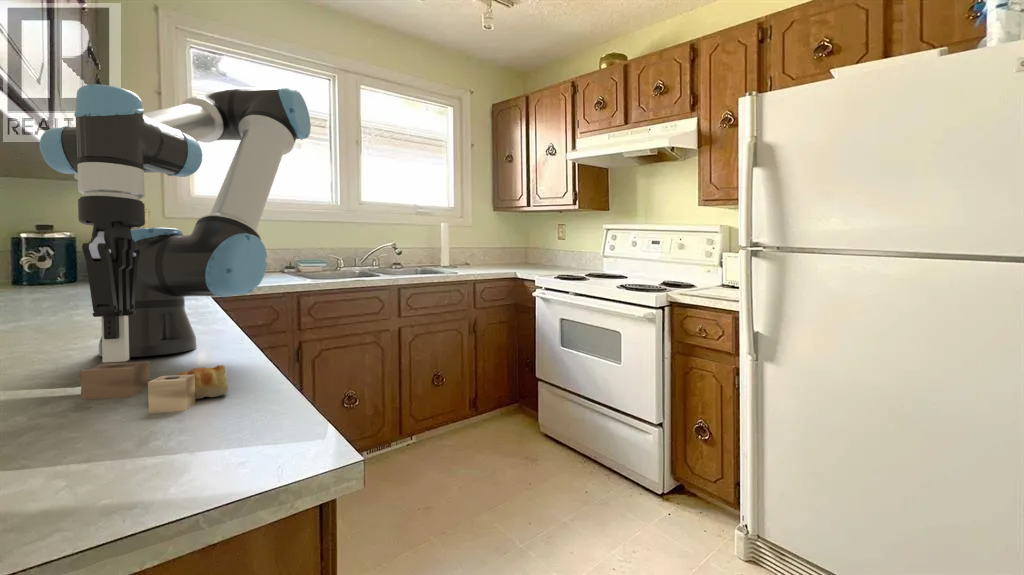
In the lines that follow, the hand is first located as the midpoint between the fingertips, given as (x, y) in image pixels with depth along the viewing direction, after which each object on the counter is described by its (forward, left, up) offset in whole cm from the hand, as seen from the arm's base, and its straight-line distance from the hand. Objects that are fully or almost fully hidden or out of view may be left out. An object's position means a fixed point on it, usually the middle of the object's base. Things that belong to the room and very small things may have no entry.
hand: (116, 360), depth 72 cm
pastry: (+4, +9, -6) cm, 11 cm away
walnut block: (0, 0, -5) cm, 5 cm away
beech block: (+11, +10, -5) cm, 16 cm away
